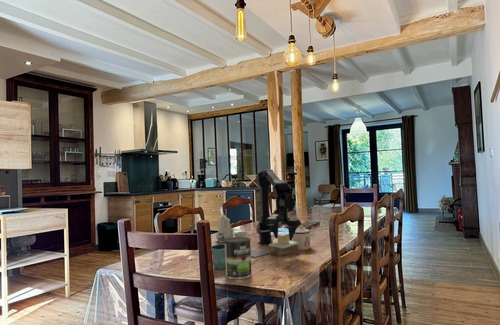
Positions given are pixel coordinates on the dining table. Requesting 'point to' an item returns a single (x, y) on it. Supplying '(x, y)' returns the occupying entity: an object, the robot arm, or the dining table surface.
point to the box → (283, 250)
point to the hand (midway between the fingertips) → (283, 239)
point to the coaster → (258, 253)
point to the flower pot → (219, 256)
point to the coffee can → (238, 258)
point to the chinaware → (227, 230)
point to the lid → (283, 241)
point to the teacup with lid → (302, 238)
